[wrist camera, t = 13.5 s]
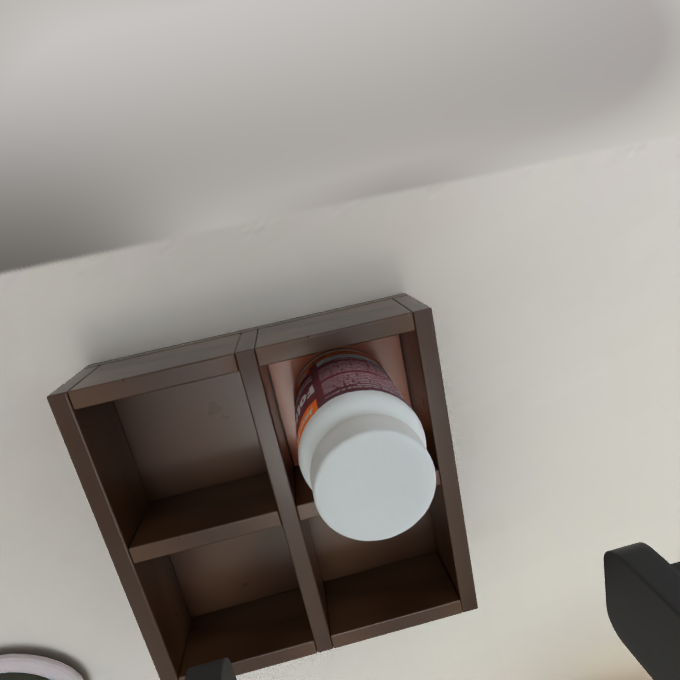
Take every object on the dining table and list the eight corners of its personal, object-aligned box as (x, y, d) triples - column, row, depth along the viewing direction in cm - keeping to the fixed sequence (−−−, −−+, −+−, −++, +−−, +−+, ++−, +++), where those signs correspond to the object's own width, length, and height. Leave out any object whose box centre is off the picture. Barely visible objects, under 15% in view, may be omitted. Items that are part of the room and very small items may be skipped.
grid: (183, 623, 26) (166, 695, 22) (87, 365, 22) (45, 396, 18) (449, 552, 27) (478, 608, 23) (405, 292, 23) (431, 307, 19)
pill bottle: (286, 355, 22) (289, 432, 14) (384, 340, 22) (444, 406, 14) (300, 445, 23) (311, 565, 15) (393, 430, 24) (452, 538, 16)
